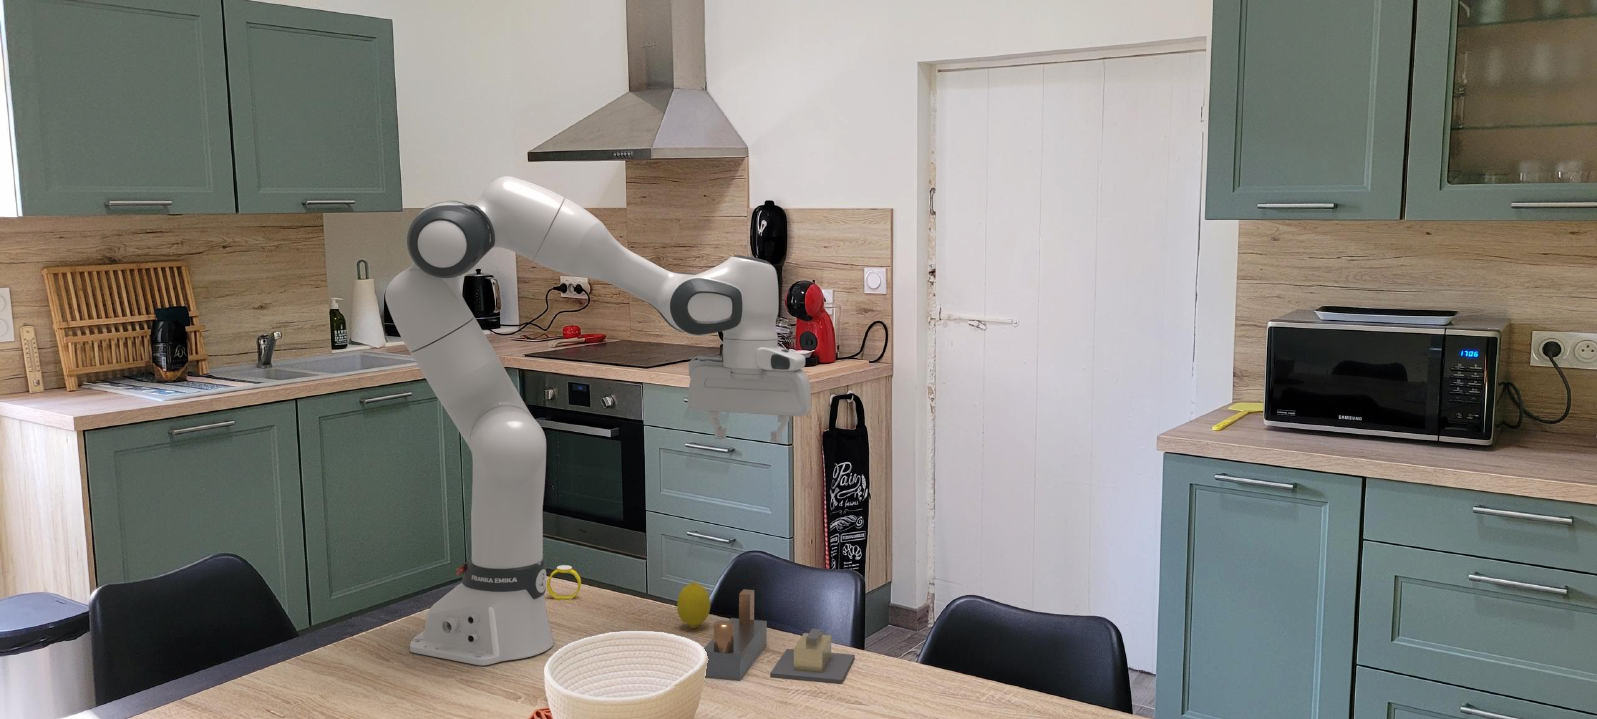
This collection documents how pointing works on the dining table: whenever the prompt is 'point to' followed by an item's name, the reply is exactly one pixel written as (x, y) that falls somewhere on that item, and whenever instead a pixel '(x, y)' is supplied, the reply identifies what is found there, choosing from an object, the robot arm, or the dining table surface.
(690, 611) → the lemon
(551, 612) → the dining table surface
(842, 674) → the rubber mat
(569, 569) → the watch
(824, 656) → the lever cap
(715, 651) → the plane body
